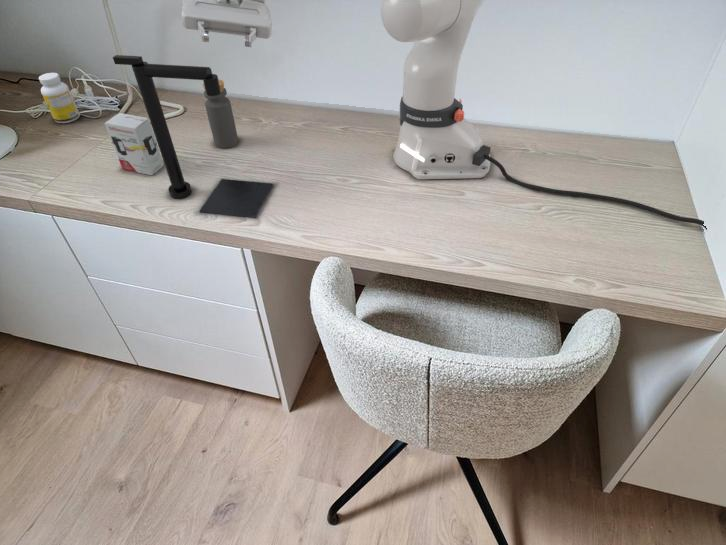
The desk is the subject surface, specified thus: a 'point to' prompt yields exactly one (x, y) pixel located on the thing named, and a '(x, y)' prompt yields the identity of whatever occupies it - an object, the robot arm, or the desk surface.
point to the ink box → (134, 143)
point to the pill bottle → (58, 98)
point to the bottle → (221, 119)
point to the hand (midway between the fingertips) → (226, 42)
